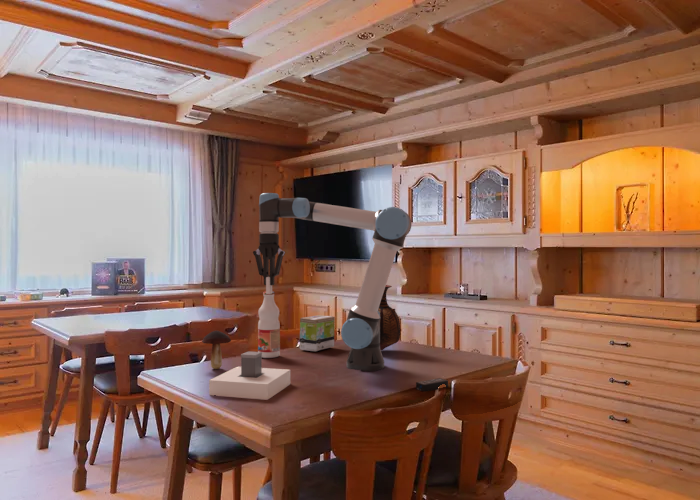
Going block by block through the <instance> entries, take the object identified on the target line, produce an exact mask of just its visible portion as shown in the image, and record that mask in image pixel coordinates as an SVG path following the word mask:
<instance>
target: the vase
mask: <svg viewBox="0 0 700 500" xmlns="http://www.w3.org/2000/svg"><path fill="white" fill-rule="evenodd" d="M390 288H392V285H388V284H386V286H385V289H384V293H383V296H382V299H381V302H380V305H379V308H378V311H379V312H380V350H381V351H384V350H385V349H387V348H388V347H390V346H393V345H395V344H397V343H398V342H399V340H400V339H401V322H400V317H399V315H398V313H397V312H396V308H392V307H391V306H390V305H389V304H388V299H387V292H388V290H389V289H390Z"/></svg>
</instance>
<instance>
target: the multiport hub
mask: <svg viewBox="0 0 700 500" xmlns="http://www.w3.org/2000/svg"><path fill="white" fill-rule="evenodd" d="M442 384H445V385H446V388H449V380H447V379H445V378H441V377H438V378H433V379H427V380H423V381H422V380H421V381H416V382H415V389H416V390H418V391H419V392H420V391H421V392H423V393H425V392H429V391H430V392H431V391H436V390H439V389H438V387H439V386H440V385H442ZM446 388H445V389H446Z"/></svg>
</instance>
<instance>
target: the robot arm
mask: <svg viewBox="0 0 700 500" xmlns="http://www.w3.org/2000/svg"><path fill="white" fill-rule="evenodd" d="M258 208H259V209H258V213H259V214H258V215H259V216H258V217H259V218H258V219H259V220H258V221H259V222H258V223H259V224H258V229H259V230H258V232H259V235H258V237H259V239H258V243H259V245H258V248H257V249H256V250H253V251H252V254H253V256H254V258H255V262H256V265H257V272H258V275H259V276H262V277H263V285H264V286H265V292H266V294H272V292H273V286H275V277H276V276H279V275H280V273H281V267H282V263H283V259H284V257H285V255H286V251H285V250H282V249H281V247H280V244H279V242H280V234H278V233H279V230H280V228H279V227H280V226H279V225H280V220H279V219H281V218H283V219H284V218H291V219H292V218H293V219H299V220H304V221H311V222H319V223H325V224H331V225H337V226H343V227H349V228H356V229H362V230H367V231H373V235H372V238H371V239H372V240H373V243H374V246H373V248H372V251H371V255H370V258H369V260H368V264H367V268H366V271H365V274H364V276H363V281H362V284H361V286H360V289H359V292H358V296H357V299H356V302H355V304H354V305H352V306H351V307H350V308H349V311H348V315H347V317H346V320H345V321H344V323H343V324H342V326H341V330H340V335H341V339H342V341H343V342H344V343H345V345H346V346H347V347H349V348H350V350H349V352H348V357H347V359H346V369H349V370H356V371H361V372H375V371H379V370H380V371H381V370H383V369H384V368H385V359H384V356H383V354H382V350H380V312H379V311H378V308H379V305H380V302H381V299H382V296H383V293H384V289H385V286H386V285H387V283H388V279H389V277H390V273H391V270H392V267H393V265H394V261H395V259H396V254H397V252H398V251H400V250H401V249H402V248H403V246H404V243H405V241H406V237H407V235H408V234H409V233H410V232H411V229H412V219H411V217H410V215H409V214H408V213H407V212H406V211H405V210H403V209H402V208H400V207H396V206H389V207H386V208H384V209H378V210H377V211H373V210H367V209H363V208H353V207H348V206H341V205H334V204H333V205H332V204H328V203H323V202H322V203H321V202H315V201H309V199H308V198H306V197H290V198H284V197H283V198H280V195H279V194H278V193H275V192H274V193H273V192H263V193H261V194H260V195H259V203H258ZM277 254H278V255H277ZM261 255H262V257H261ZM276 256H277V257H276ZM262 259H263V260H262Z"/></svg>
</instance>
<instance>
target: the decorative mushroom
mask: <svg viewBox="0 0 700 500" xmlns="http://www.w3.org/2000/svg"><path fill="white" fill-rule="evenodd" d="M231 341H232V339H231V338H230V336H229V335H227V334H226V333H225V332H222V331H220V330H213V331H211V332H209V333H207V334H206V335H205V336H204V337H203V339H202V341H201V343H203V344H209V345H211V352H210V366H211V368H212V369H213V370H219V369H220V368H221V367H222V366H223V357H222V356H223V355H222V354H223V353H222V348H221V344H228V343H231Z"/></svg>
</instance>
